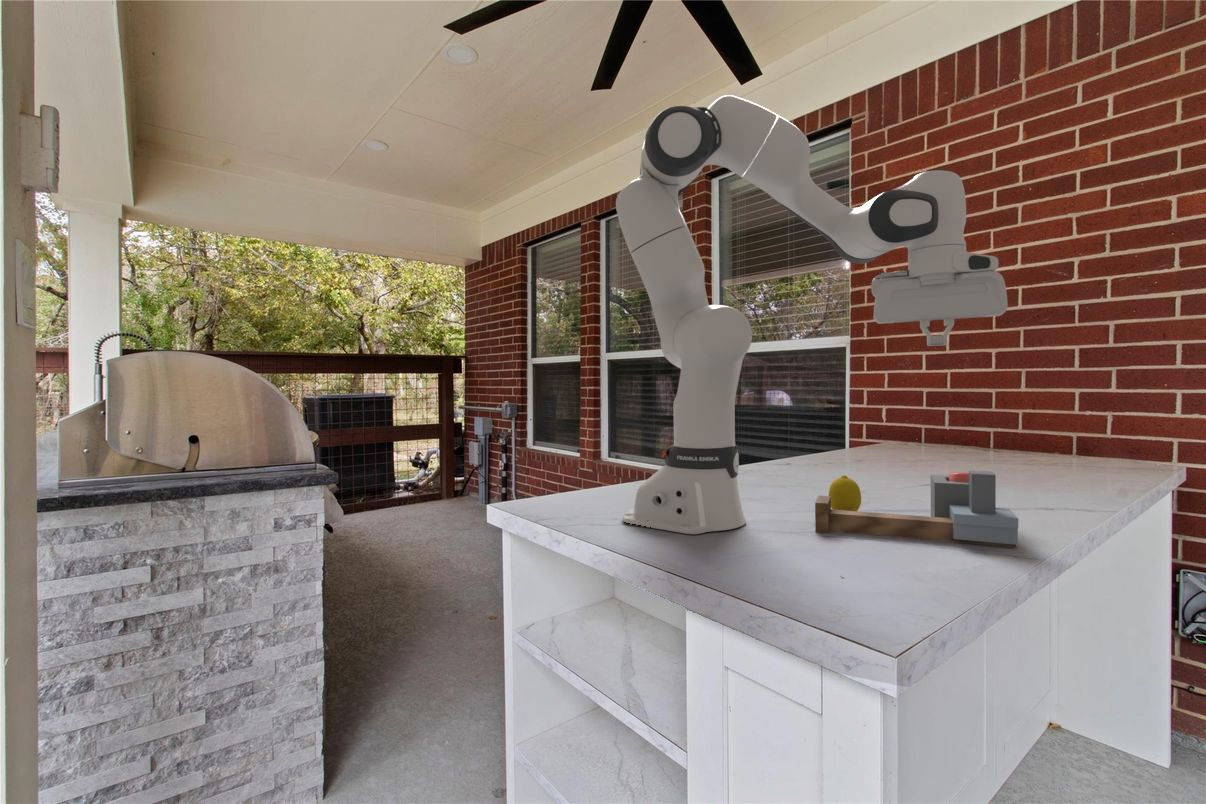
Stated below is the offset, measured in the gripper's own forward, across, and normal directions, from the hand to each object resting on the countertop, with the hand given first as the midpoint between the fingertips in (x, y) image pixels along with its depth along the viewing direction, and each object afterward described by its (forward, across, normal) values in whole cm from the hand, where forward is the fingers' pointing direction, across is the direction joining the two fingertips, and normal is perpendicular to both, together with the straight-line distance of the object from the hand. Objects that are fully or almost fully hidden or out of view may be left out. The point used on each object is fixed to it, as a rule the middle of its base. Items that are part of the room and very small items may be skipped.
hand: (936, 345), depth 99 cm
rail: (+31, -4, -13) cm, 34 cm away
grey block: (+31, +3, -4) cm, 31 cm away
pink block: (+28, +3, -4) cm, 28 cm away
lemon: (+31, -15, -5) cm, 35 cm away
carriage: (+31, +5, -13) cm, 34 cm away
